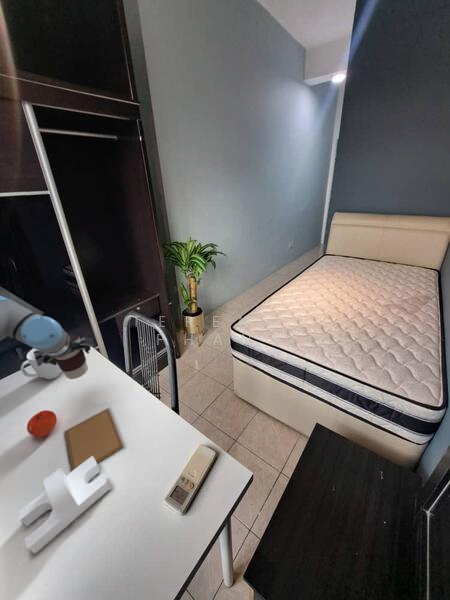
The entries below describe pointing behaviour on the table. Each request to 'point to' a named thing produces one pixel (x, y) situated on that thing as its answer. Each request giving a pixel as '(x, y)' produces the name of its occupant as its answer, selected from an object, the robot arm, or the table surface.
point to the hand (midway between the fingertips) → (71, 355)
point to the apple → (42, 423)
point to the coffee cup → (73, 362)
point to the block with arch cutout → (63, 501)
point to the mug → (41, 367)
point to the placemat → (93, 439)
